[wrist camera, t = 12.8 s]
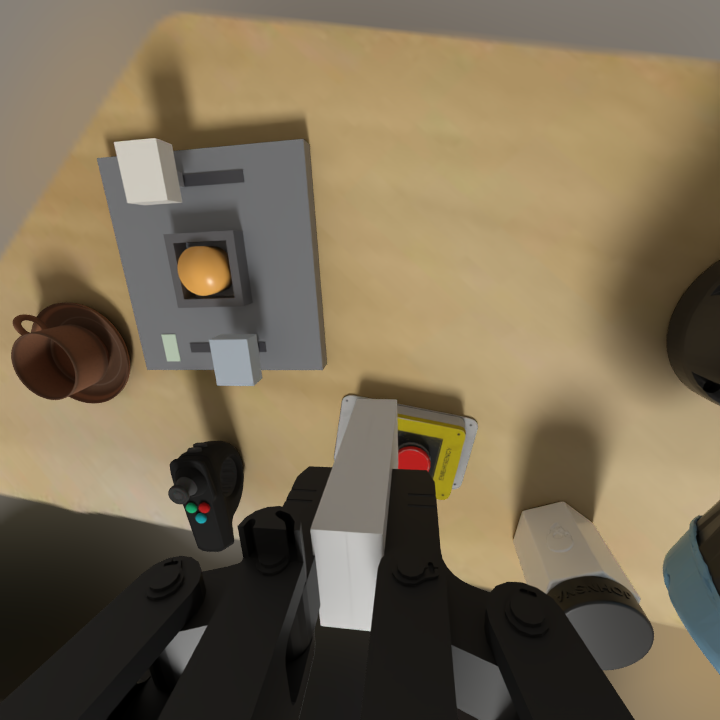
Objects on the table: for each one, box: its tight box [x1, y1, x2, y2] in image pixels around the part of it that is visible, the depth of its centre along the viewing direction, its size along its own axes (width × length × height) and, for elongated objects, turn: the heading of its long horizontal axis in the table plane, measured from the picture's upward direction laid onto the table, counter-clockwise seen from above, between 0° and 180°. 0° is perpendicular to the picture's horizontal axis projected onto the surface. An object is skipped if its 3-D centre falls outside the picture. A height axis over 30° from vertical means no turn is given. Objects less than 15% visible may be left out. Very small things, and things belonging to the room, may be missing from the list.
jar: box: [513, 501, 654, 670], centre depth 37 cm, size 9×8×12 cm
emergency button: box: [334, 395, 478, 500], centre depth 40 cm, size 9×4×15 cm
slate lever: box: [209, 334, 262, 386], centre depth 35 cm, size 4×4×5 cm
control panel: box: [97, 139, 327, 370], centre depth 36 cm, size 20×21×4 cm
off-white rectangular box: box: [114, 138, 184, 205], centre depth 31 cm, size 4×4×5 cm
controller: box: [168, 441, 244, 552], centre depth 41 cm, size 4×12×10 cm, turn 7°
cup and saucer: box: [11, 303, 130, 403], centre depth 41 cm, size 12×12×6 cm
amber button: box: [177, 246, 232, 296], centre depth 35 cm, size 4×4×2 cm
